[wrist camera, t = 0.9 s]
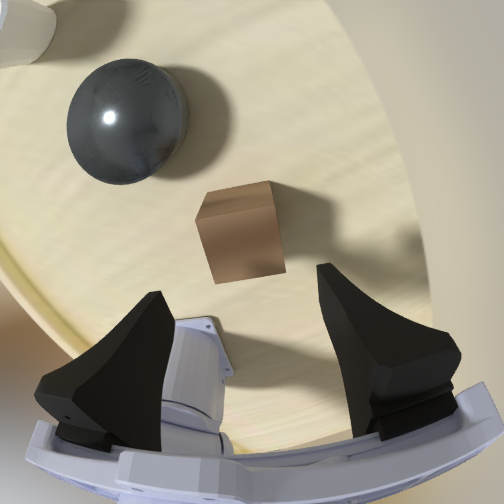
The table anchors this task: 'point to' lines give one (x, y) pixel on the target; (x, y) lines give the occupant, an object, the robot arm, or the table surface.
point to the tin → (126, 121)
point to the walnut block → (241, 233)
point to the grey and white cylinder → (24, 31)
